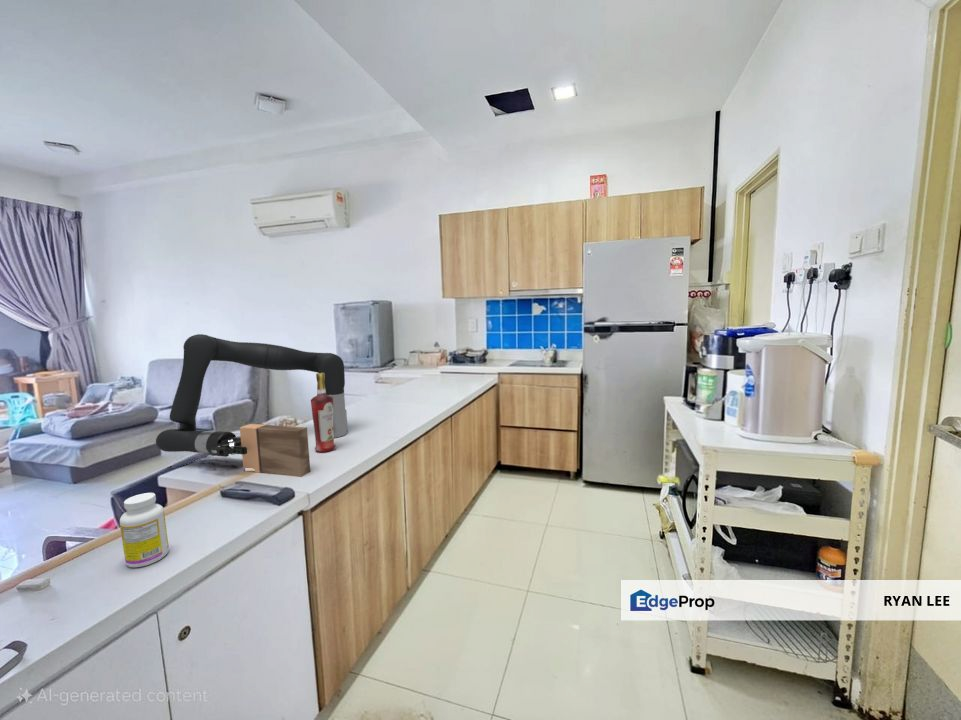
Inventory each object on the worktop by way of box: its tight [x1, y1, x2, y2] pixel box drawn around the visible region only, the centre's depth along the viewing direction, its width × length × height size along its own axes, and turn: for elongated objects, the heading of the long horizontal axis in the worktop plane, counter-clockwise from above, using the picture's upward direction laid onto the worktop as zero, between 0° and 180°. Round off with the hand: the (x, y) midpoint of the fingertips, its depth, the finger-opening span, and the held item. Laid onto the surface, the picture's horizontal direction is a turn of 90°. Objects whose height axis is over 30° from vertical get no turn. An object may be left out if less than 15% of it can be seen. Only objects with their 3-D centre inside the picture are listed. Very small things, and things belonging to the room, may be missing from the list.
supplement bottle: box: [119, 492, 170, 568], centre depth 77 cm, size 7×7×13 cm
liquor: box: [310, 372, 336, 453], centre depth 136 cm, size 7×7×28 cm
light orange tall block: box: [239, 423, 267, 474], centre depth 120 cm, size 4×6×14 cm, turn 76°
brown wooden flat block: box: [257, 424, 311, 478], centre depth 118 cm, size 4×15×14 cm, turn 76°
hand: (257, 446), depth 120 cm, fingers open, 8 cm apart
